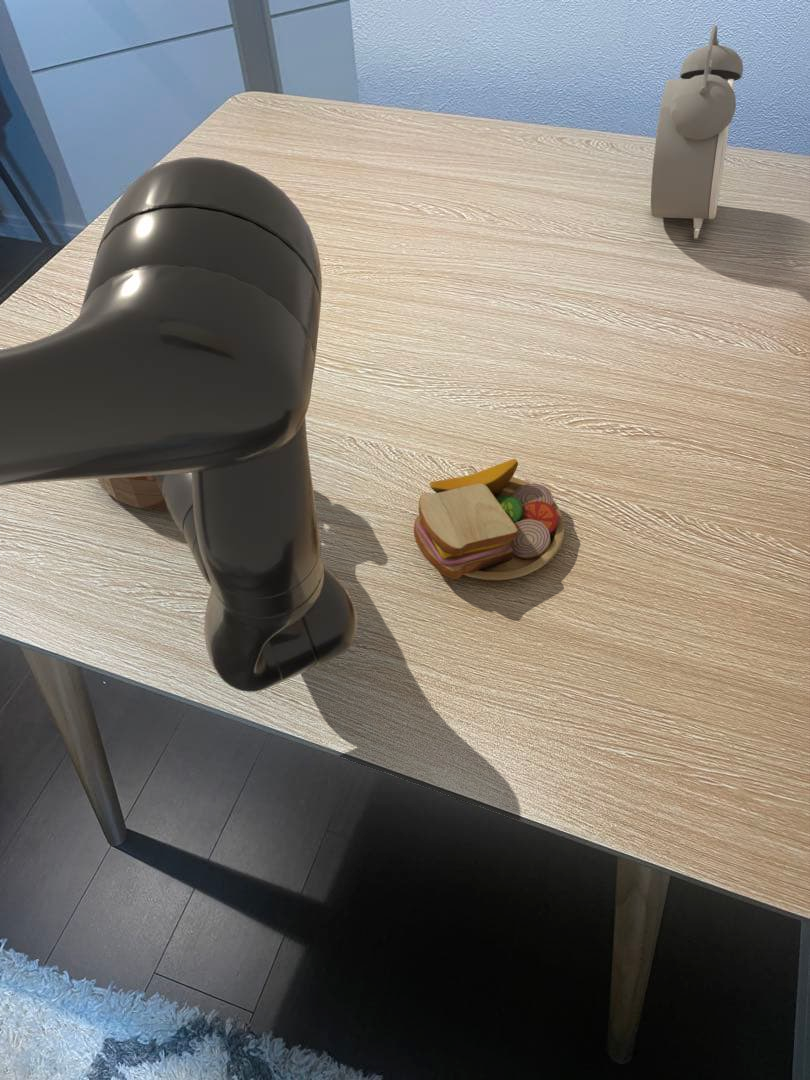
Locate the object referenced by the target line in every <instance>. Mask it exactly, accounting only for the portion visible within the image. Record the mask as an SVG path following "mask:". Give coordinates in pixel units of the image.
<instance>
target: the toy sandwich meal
mask: <svg viewBox="0 0 810 1080" xmlns="http://www.w3.org/2000/svg"><path fill="white" fill-rule="evenodd" d="M518 466H519V462H518V460H517V459H516V458H512V459H510V460H507V461H504V462H502V463H498V464H496V465H493V466H491V467H487V468H485V469H482V470H480V471H477V472H474V473H471V474H468V475H464V476H458V477H452V478H447V479H440V480H433V481H431V482H429V486H430V488H431V489H432V491H433V492H434V493H433V492H424V493H422V494H421V495H420V497H419V500H418V514H419V515H418V516H417V517H416V518H415V520H414V524H413V536H414V540H415V543H416V545H417V547H418V550H420V552H421V554H422V555H423V556H424V558H425V559H426V560H427V561H428V562H429V564H430V565H431V566H432V567H433V568H434V569H436V570H437V571H438V572H439V573H441V574H442V575H444V576H445V577H447V578H449V579H452V580H458V579H459V578H461V577H462V576H463V575H464V576H467V577H470V578H473V579H479V580H485V581H506V580H507V581H508V580H512V579H517V578H521V577H524V576H528V575H530V574H532V573H533V572H536V571H537V570H538V571H539V569H541V568H542V567H544V566H546V564H548V563H549V562H550V561H551V560H552V559H553V558H554V557H555V555H556V554H557V553H558V551H559V550H560V548H561V547H562V543H563V540H564V538H565V520H564V517H563V514H562V511H561V509H560V507H559V506H558V504H557V502H555V500H554V496H553V493H552V491H551V490H550V489H549V488H548V487H547V486H546V485H544V484H542V483H535V482H532V483H531V482H529V481H526V480H523V479H521V478H518V477H513V476H514V475H515V473H516V471H517V469H518Z"/></svg>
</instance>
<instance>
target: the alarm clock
mask: <svg viewBox="0 0 810 1080" xmlns="http://www.w3.org/2000/svg"><path fill="white" fill-rule="evenodd" d="M719 42H720V41H719V39H718V25H714V26H712V29H711V32H710V36H709V40H708V45H704V46H701V47H699V48H697V49H695V50H693V51H692V52H690V53H689V54H688V55H687V56H686V58H684V60H683V63H682V65H681V67H680V72H679V78H669V79H667V80H666V84H665V85H664V89H663V92H662V97H661V102H660V108H659V113H658V121H657V125H656V133H655V134H656V135H655V142H654V152H653V159H652V170H651V171H652V172H651V184H650V213H651V216H652V217H653V218H668V219H669V218H672V219H693V238H694V239H698V238H699V235H700V232H701V229H700V228H702V225H703V222H704V220H714V219H715V218H716V215H717V210H718V204H719V197H720V193H721V187H722V186H721V185H722V179H723V174H724V168H725V167H724V165H725V159H726V152H727V145H728V139H729V130H730V124H731V123H732V121H733V118H734V115H735V112H736V107H737V103H736V94H735V92H734V89H735V82H736V81H739V80H740V79H741V78H742V77H743V73H744V64H743V59H742V58H741V56H740V55H739V53H738V52H737V51H735V50H734V49H733V48H730V47H729V46H726V45H722V44H720V43H719ZM694 228H695V229H700V231H695V230H694Z"/></svg>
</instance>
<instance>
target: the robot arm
mask: <svg viewBox="0 0 810 1080" xmlns="http://www.w3.org/2000/svg"><path fill="white" fill-rule="evenodd" d="M322 288H323V278H322V268H321V259H320V255H319V250H318V246H317V243H316V240H315V238H314V235H313V233H312V230H311V227H310V225H309V224H308V222H307V220H306V219H305V217H304V215H303V214H302V212H301V210H300V208H299V207H298V206H297V205H296V204H295V202H294V201H293V200H292V199H291V198H290V197H289V196H288V195H287V193H285V192H284V190H283V189H281V188H280V187H279V186H277V185H276V184H275V183H274V182H272V181H271V180H269V179H268V178H267V177H266V176H264V175H262V174H260V173H258V172H256V171H254V170H252V169H250V168H249V167H247V166H244V165H240V164H237V163H235V162H231V161H228V160H225V159H218V158H210V157H203V156H193V157H181V158H177V159H172V160H169V161H165V162H162V163H160V164H158V165H156V166H154V167H152V168H151V169H148V170H146V171H144V172H143V173H142V174H141V175H139V177H137V178H136V179H135V180H134V181H133V182H132V183H131V184H130V185H129V186H128V187H127V188H126V189H125V190H124V193H123V194H122V195H121V196H120V198H119V200H118V201H117V203H116V204H115V206H114V208H113V210H112V212H111V213H110V215H109V217H108V220H107V222H106V224H105V227H104V229H103V233H102V236H101V238H100V242H99V245H98V248H97V251H96V255H95V259H94V262H93V265H92V268H91V273H90V276H89V280H88V283H87V286H86V291H85V293H84V297H83V300H82V304H81V308H80V311H79V316H78V317H76V319H75V320H74V321H72V322H71V323H70V324H69V325H67V326H66V327H64V328H62V329H61V330H59V331H57V332H55V333H52V334H50V335H47V336H45V337H41V338H39V339H36V340H33V341H31V342H26V343H23V344H19V345H16V346H15V345H14V346H12V347H8V348H2V349H0V487H5V486H13V485H14V486H15V485H21V484H33V483H48V482H60V481H61V482H62V481H82V480H98V479H102V478H119V477H137V476H154V477H155V479H156V482H157V484H158V486H159V488H160V491H161V493H162V495H163V497H164V500H165V502H166V504H167V505H166V506H167V510H166V511H168V513H169V515H170V516H171V517H172V519H173V521H174V523H175V525H176V526H177V528H178V529H179V531H180V532H181V533H182V536H183V537H184V539H185V541H186V543H187V545H188V547H189V550H190V552H191V555H192V556H193V559H194V561H195V562H196V566H197V567H198V570H199V572H200V574H201V576H202V577H203V578H204V580H205V582H206V584H208V585H209V586H210V591H209V595H208V599H207V603H206V608H205V612H204V613H205V614H204V627H203V629H204V642H205V647H206V652H207V655H208V658H209V660H210V662H211V665H212V667H213V670H214V671H215V672H216V674H217V676H219V678H220V679H221V680H222V681H223V682H224V683H225V684H226V685H228V686H229V687H231V688H233V689H235V690H238V691H240V692H246V693H258V692H261V691H262V692H263V691H265V690H268V689H271V688H273V687H275V686H277V685H279V684H282V683H284V682H286V681H287V680H290V679H293V678H295V677H297V676H299V675H301V674H304V673H306V672H308V671H310V670H313V669H315V668H317V666H322V665H323V664H326V663H329V662H330V661H332V660H335V659H337V658H339V657H340V656H342V655H343V654H346V653H347V651H348V650H349V649H350V648H351V647H352V645H353V643H354V641H355V638H356V635H357V629H358V616H357V611H356V608H355V604H354V602H353V599H352V598H351V596H350V594H349V592H348V591H347V589H346V588H345V586H344V585H343V583H341V581H340V580H339V579H338V577H336V576H335V574H334V573H332V571H331V570H329V568H328V567H327V566H325V565H324V558H323V550H322V542H321V535H320V527H319V521H318V514H317V507H316V500H315V499H316V498H315V493H314V492H315V491H314V485H313V479H312V477H313V476H312V469H311V462H310V454H309V453H310V452H309V446H308V435H307V424H306V423H307V422H306V416H307V413H308V410H309V407H310V406H309V405H310V402H311V397H312V390H313V389H312V388H313V381H314V380H313V379H314V373H315V372H314V371H315V366H316V357H317V348H318V339H319V338H318V337H319V328H320V321H321V319H320V318H321V308H322V306H321V305H322Z"/></svg>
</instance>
